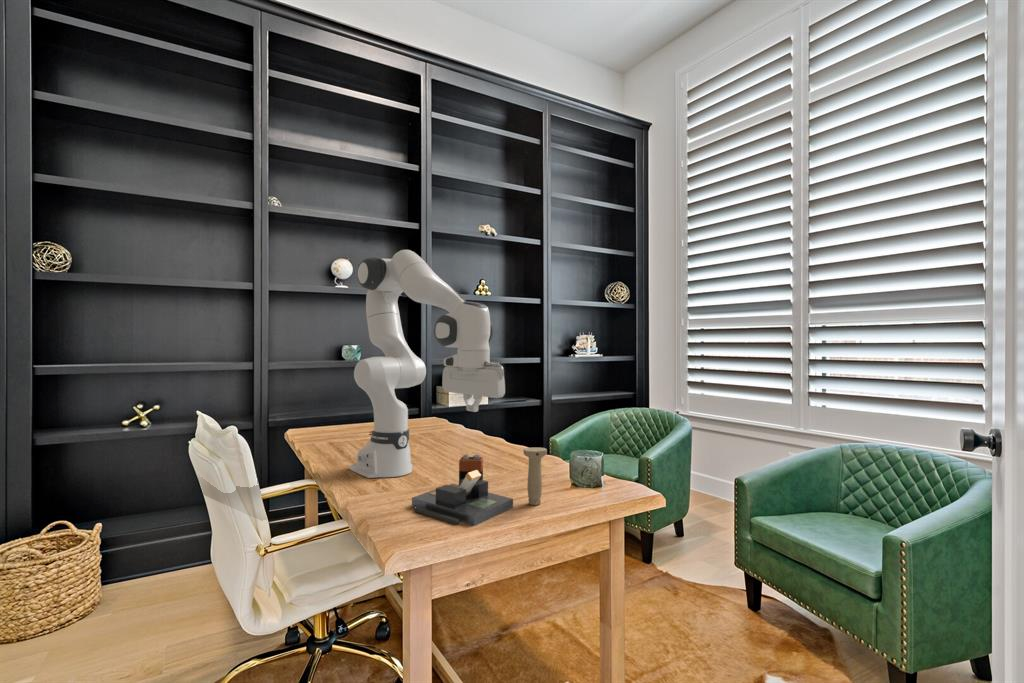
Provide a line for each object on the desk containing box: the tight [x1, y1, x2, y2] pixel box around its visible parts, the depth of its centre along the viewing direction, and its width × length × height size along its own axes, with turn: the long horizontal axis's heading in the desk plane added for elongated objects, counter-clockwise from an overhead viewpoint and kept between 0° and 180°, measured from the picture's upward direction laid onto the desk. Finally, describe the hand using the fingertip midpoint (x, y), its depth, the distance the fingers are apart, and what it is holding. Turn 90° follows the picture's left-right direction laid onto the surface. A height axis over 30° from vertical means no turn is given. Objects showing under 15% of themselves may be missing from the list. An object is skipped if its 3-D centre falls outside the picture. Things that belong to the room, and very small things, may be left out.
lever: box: [459, 470, 481, 496], centre depth 131 cm, size 2×4×8 cm
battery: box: [458, 454, 484, 481], centre depth 149 cm, size 4×7×10 cm, turn 86°
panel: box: [411, 479, 514, 526], centre depth 132 cm, size 22×16×6 cm
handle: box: [523, 446, 548, 506], centre depth 135 cm, size 5×6×15 cm
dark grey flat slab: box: [413, 507, 460, 525], centre depth 132 cm, size 15×21×1 cm
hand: (472, 411), depth 135 cm, fingers closed
